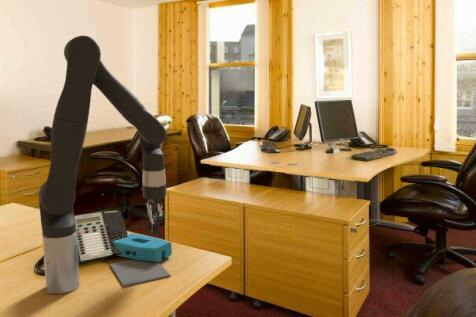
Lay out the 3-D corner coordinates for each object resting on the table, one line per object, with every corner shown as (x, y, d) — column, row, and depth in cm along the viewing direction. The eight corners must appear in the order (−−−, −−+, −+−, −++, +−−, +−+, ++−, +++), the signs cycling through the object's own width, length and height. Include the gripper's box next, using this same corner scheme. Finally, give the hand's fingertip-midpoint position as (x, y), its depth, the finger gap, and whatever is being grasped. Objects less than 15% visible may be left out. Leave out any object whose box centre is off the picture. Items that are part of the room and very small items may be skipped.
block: (151, 250, 142) (109, 241, 152) (152, 264, 142) (110, 254, 153) (174, 240, 152) (133, 232, 162) (174, 253, 153) (134, 245, 163)
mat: (123, 287, 129) (123, 285, 128) (110, 265, 144) (110, 263, 144) (170, 276, 136) (170, 274, 136) (152, 257, 151) (152, 255, 151)
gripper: (137, 180, 142) (138, 229, 145) (149, 188, 130) (150, 242, 133) (158, 178, 145) (159, 226, 148) (172, 186, 134) (173, 238, 137)
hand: (155, 233), depth 141 cm, fingers closed
